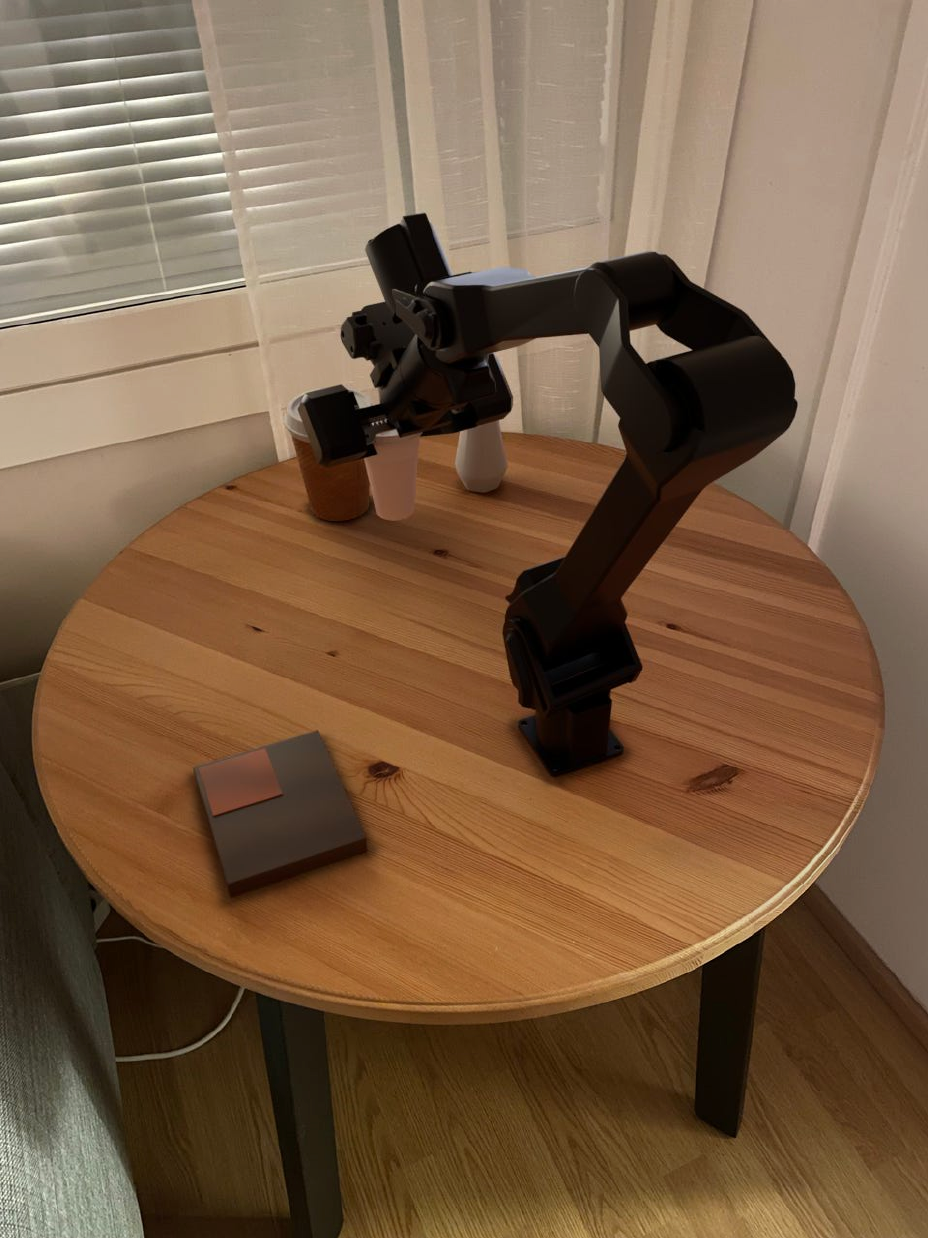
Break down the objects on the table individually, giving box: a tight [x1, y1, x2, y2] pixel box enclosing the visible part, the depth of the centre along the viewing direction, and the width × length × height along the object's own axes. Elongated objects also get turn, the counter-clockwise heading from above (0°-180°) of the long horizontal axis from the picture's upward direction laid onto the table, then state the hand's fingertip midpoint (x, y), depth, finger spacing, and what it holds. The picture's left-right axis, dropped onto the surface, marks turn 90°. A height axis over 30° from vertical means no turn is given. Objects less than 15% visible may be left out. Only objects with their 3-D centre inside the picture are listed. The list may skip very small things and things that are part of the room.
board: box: [192, 729, 368, 898], centre depth 75 cm, size 12×10×2 cm
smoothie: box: [364, 387, 423, 522], centre depth 95 cm, size 6×6×14 cm
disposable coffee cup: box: [283, 386, 373, 522], centre depth 106 cm, size 10×10×12 cm
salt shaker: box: [454, 420, 509, 494], centre depth 109 cm, size 6×6×13 cm
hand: (384, 439), depth 96 cm, fingers closed on smoothie, 6 cm apart
